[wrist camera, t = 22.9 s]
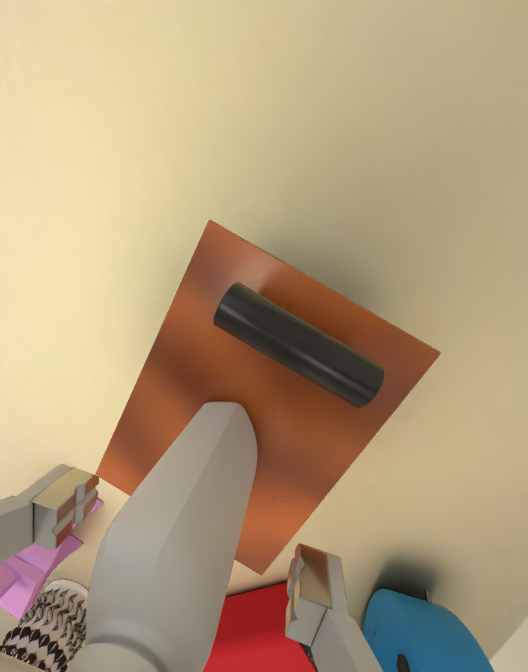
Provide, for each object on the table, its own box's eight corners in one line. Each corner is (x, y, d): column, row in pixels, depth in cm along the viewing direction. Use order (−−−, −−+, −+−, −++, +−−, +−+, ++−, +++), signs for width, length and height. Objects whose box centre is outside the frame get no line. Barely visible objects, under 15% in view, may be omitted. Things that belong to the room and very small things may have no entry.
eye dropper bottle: (178, 462, 15) (-265, 1110, 3) (212, 385, 13) (-349, 1034, 2) (243, 496, 15) (21, 1313, 3) (284, 422, 13) (169, 1408, 2)
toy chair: (34, 517, 32) (-189, 712, 17) (53, 470, 30) (-185, 649, 15) (87, 551, 32) (-92, 776, 17) (111, 507, 30) (-73, 723, 15)
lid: (214, 222, 12) (159, 183, 8) (433, 348, 12) (520, 391, 7) (104, 466, 17) (24, 539, 12) (263, 562, 16) (248, 677, 12)
